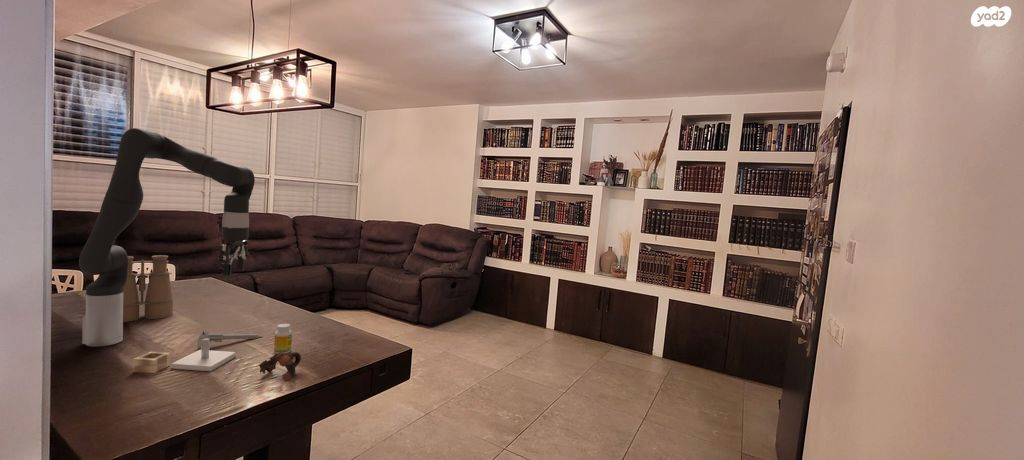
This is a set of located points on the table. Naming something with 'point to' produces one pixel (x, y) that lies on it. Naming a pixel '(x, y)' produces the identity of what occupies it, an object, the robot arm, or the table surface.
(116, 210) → the robot arm
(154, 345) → the table surface
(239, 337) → the caliper
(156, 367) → the hollow block
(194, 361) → the peg base plate
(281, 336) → the supplement bottle
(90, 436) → the table surface
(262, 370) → the brown curved piece
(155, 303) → the binoculars
